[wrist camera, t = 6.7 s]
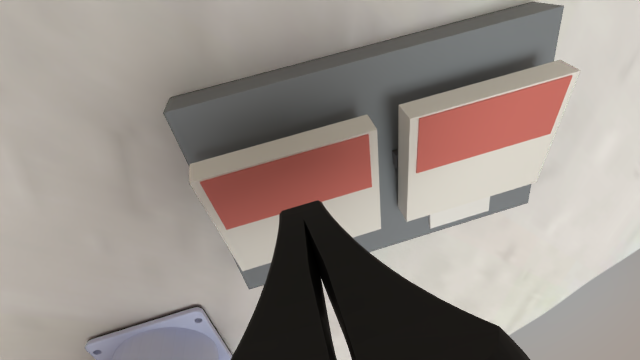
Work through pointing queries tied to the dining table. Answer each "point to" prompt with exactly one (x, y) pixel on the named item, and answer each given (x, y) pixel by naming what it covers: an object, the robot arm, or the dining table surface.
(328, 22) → the dining table surface
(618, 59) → the dining table surface
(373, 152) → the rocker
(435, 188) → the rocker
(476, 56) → the switch panel
